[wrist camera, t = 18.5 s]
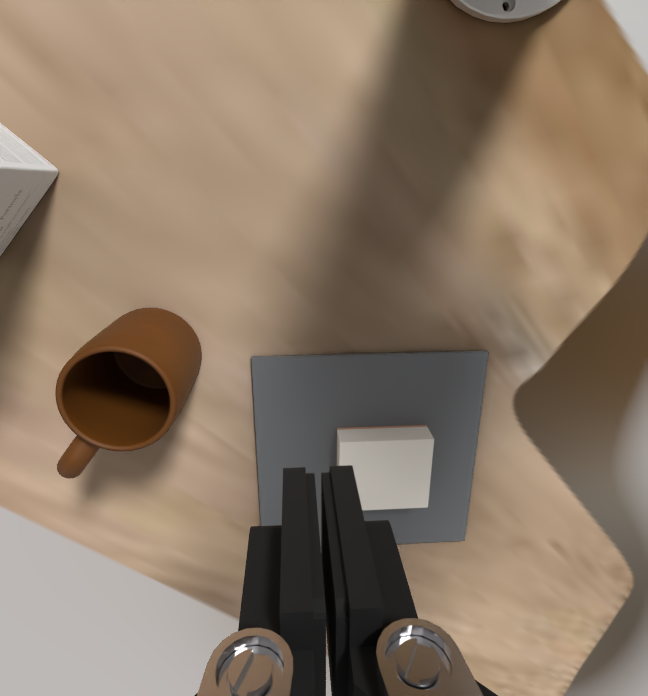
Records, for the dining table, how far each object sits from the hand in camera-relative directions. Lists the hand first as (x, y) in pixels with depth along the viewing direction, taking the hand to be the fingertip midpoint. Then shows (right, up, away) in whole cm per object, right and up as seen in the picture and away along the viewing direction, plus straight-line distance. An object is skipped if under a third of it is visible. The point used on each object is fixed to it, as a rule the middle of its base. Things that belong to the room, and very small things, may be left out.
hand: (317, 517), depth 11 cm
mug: (-15, +2, +27) cm, 31 cm away
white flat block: (+1, -7, +30) cm, 30 cm away
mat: (+4, -6, +31) cm, 32 cm away
